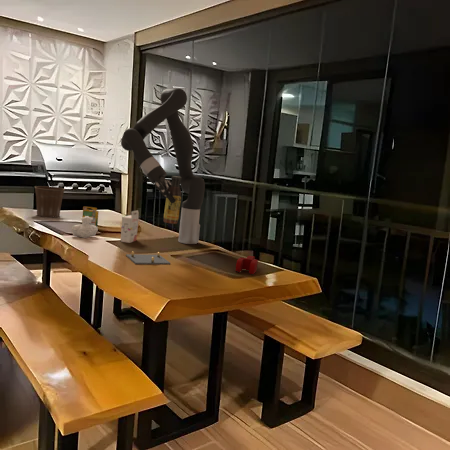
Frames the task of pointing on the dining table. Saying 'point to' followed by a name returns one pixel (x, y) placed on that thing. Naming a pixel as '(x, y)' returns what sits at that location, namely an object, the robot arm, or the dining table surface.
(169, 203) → the sauce bottle
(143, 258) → the slate pad
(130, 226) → the ink cartridge box
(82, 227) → the bust
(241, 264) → the mechanical linkage
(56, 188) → the plant pot
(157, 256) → the brass pins
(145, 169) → the robot arm
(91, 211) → the crayon box
